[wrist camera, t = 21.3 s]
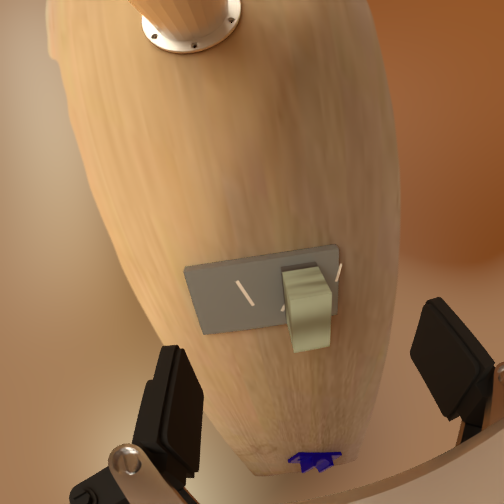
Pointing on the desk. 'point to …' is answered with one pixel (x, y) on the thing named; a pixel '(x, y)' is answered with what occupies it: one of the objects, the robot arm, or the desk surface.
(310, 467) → the mounting bracket
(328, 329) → the block
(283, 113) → the desk surface
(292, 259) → the board
